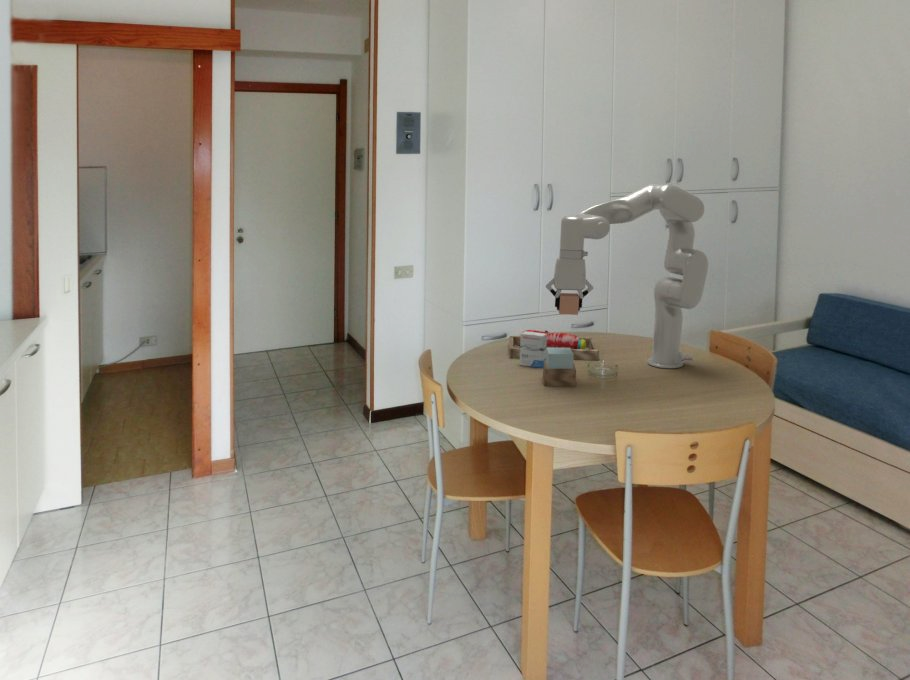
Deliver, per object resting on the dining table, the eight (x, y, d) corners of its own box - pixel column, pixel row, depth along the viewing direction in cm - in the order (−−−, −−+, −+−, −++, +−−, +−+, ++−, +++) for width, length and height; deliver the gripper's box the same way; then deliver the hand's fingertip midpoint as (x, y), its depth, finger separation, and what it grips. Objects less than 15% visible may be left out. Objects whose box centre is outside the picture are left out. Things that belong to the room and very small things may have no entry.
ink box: (546, 364, 257) (547, 333, 254) (541, 368, 253) (543, 336, 250) (523, 361, 261) (524, 330, 258) (519, 365, 256) (520, 333, 254)
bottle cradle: (592, 346, 282) (592, 337, 281) (598, 360, 263) (598, 350, 262) (509, 344, 284) (509, 335, 283) (509, 358, 265) (509, 348, 264)
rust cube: (576, 311, 237) (577, 293, 235) (578, 314, 231) (579, 296, 230) (558, 310, 237) (559, 292, 236) (559, 314, 231) (560, 296, 230)
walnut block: (572, 378, 242) (573, 361, 241) (575, 387, 233) (576, 369, 231) (543, 377, 243) (543, 360, 242) (544, 386, 233) (545, 369, 232)
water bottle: (527, 327, 285) (590, 333, 276) (526, 347, 286) (588, 354, 277) (519, 329, 274) (584, 335, 265) (517, 349, 275) (582, 356, 266)
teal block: (569, 361, 240) (570, 347, 239) (572, 368, 232) (573, 354, 231) (545, 361, 240) (546, 347, 239) (548, 368, 232) (549, 353, 231)
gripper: (596, 254, 233) (593, 308, 237) (543, 252, 234) (541, 306, 238) (599, 257, 225) (595, 312, 230) (544, 255, 226) (542, 311, 231)
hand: (568, 309), depth 234 cm, fingers closed on rust cube, 6 cm apart
